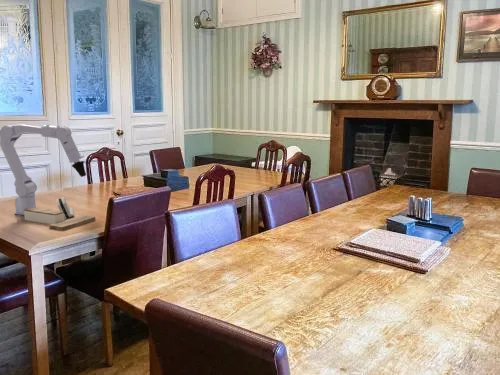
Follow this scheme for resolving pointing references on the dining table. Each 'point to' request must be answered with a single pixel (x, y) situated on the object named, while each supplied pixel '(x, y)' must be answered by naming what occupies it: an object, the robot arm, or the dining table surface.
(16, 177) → the robot arm
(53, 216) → the cabinet
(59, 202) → the hinge
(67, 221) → the door leaf
